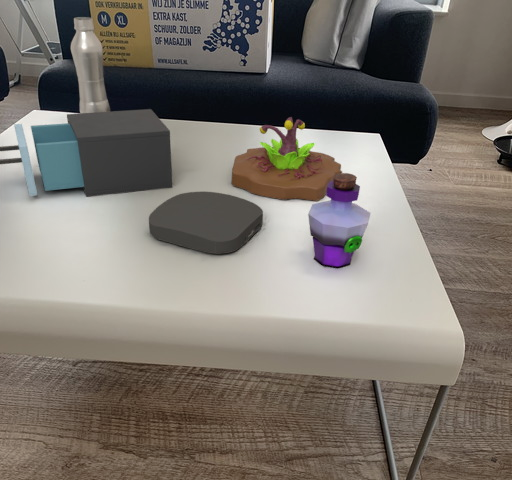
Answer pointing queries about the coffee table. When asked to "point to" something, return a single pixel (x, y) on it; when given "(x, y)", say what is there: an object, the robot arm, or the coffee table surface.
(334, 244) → the potion bottle
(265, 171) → the plant
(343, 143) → the coffee table surface
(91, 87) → the plastic bottle
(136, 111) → the cabinet
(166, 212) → the media streaming box
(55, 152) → the drawer
